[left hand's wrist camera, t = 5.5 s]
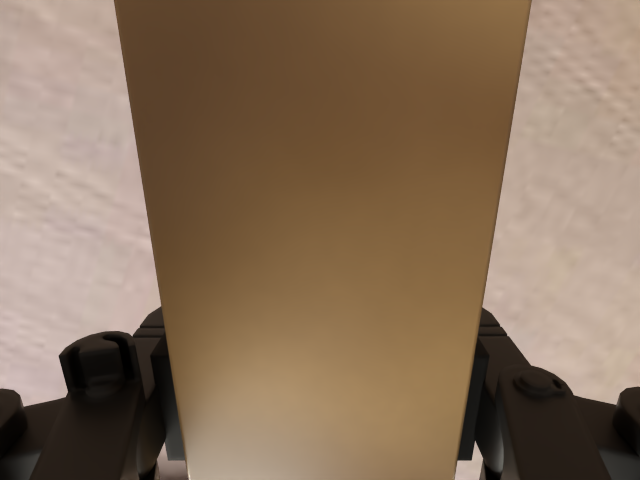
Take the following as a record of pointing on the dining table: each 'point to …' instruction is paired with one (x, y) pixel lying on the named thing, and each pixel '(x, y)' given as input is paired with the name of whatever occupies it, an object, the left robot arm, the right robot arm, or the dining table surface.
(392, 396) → the beam
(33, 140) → the dining table surface
